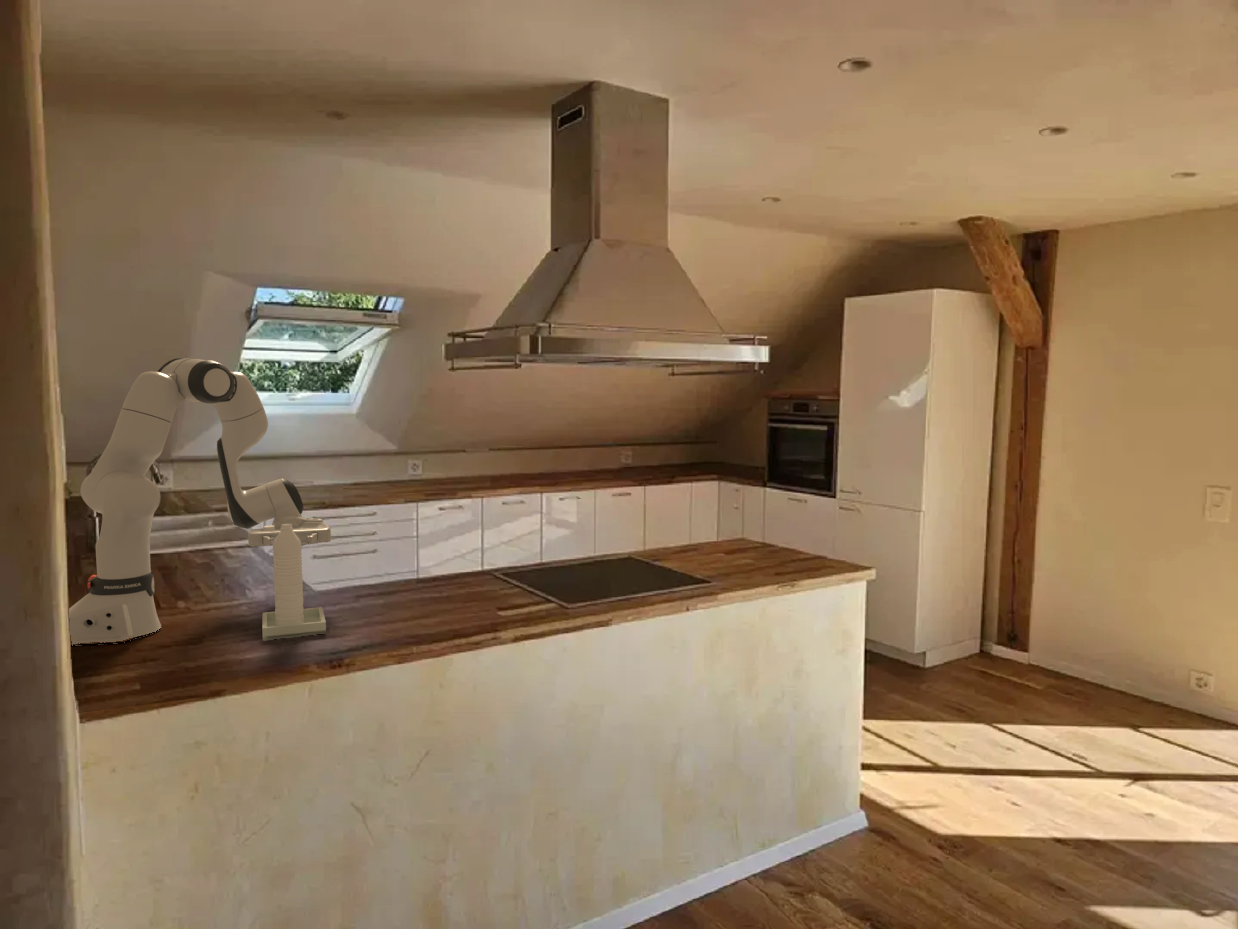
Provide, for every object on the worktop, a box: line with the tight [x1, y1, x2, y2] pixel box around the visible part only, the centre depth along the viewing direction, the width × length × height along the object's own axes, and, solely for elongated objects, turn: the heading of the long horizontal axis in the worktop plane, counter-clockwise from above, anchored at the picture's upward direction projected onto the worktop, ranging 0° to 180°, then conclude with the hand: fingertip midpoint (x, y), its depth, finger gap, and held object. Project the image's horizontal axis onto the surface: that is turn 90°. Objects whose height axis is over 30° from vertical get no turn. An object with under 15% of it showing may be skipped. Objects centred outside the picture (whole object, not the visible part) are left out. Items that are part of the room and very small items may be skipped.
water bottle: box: [262, 524, 305, 626], centre depth 203 cm, size 9×6×25 cm
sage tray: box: [261, 606, 327, 642], centre depth 205 cm, size 14×14×3 cm
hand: (290, 541), depth 215 cm, fingers open, 8 cm apart
